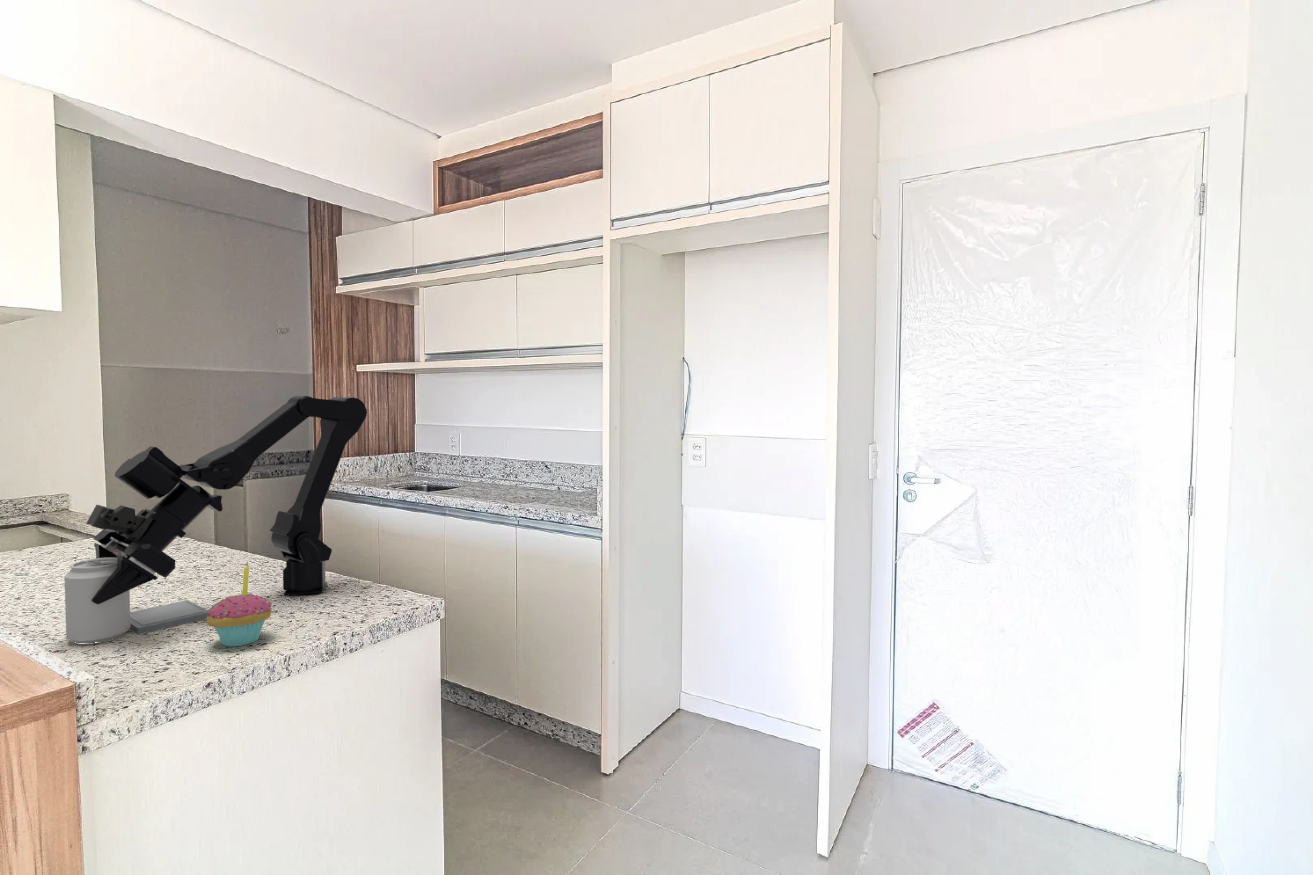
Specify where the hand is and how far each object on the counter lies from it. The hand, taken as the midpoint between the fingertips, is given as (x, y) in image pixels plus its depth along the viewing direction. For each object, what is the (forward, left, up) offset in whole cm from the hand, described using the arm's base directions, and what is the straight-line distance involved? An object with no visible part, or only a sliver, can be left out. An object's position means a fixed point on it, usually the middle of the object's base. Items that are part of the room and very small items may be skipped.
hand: (86, 597), depth 97 cm
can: (-1, -1, -7) cm, 7 cm away
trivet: (-7, -8, -7) cm, 12 cm away
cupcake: (-22, +6, -7) cm, 24 cm away
